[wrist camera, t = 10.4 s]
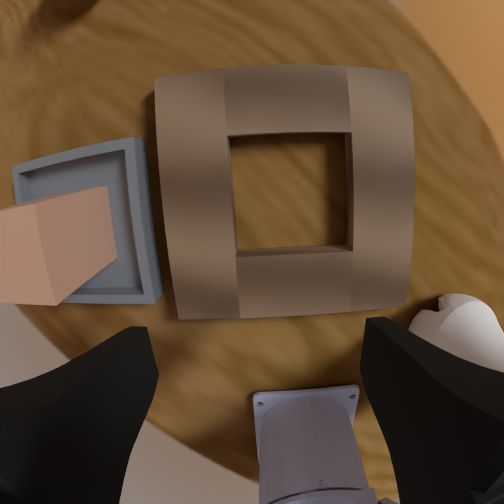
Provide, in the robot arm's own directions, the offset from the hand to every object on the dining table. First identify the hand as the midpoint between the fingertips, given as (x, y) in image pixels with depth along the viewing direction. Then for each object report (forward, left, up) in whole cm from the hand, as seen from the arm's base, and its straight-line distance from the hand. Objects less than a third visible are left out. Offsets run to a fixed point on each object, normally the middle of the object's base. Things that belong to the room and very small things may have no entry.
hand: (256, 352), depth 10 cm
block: (+3, +11, -9) cm, 14 cm away
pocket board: (+4, -2, -9) cm, 10 cm away
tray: (+3, +11, -9) cm, 15 cm away
